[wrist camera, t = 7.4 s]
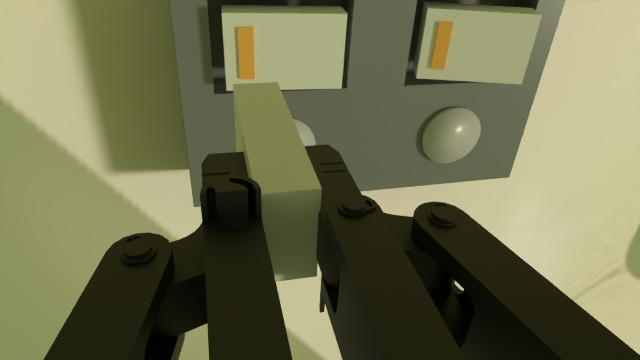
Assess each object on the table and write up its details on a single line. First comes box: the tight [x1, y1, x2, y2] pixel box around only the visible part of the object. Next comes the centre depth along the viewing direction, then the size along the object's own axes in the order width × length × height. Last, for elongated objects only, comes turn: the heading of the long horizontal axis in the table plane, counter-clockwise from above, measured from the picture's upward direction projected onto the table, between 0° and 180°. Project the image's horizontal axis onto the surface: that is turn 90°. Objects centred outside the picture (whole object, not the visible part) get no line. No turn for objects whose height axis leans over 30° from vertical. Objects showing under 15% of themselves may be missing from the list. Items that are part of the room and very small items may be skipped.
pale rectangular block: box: [222, 5, 347, 91], centre depth 23 cm, size 4×6×2 cm, turn 87°
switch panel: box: [169, 0, 565, 207], centre depth 27 cm, size 12×20×4 cm, turn 87°
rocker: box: [413, 2, 542, 85], centre depth 25 cm, size 4×6×2 cm, turn 87°
